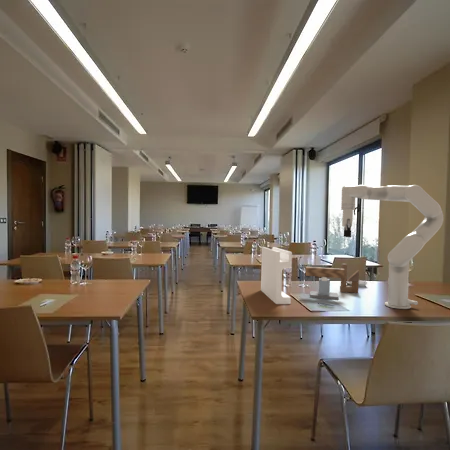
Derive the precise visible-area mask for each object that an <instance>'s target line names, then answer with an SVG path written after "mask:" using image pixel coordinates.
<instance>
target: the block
mask: <svg viewBox="0 0 450 450" xmlns="http://www.w3.org/2000/svg"><path fill="white" fill-rule="evenodd" d="M292 264H293V252H292V251H290V250H286V249H283V248H279V247H276V246H272V247H271V248H269V247H265V246H261V269H260V270H261V272H260V273H261V274H260V276H261V277H260V291H261V292H262V293H263V294H264V295H266V296H267V298H268V299H270V300H271V301H272V302H273V303H274V304H276V305H291V301H292V300H291V299H292V297H291V296H290V295H288V294H286V293H285V292H284V291H282V289H283V288H282V287H283V270H285V269H293V267H292Z"/></svg>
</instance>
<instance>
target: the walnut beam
mask: <svg viewBox="0 0 450 450" xmlns="http://www.w3.org/2000/svg"><path fill="white" fill-rule="evenodd" d="M305 276H306V277H319V278H320V277H321V278H322V277H327V278H335V279H341V278H344V269H341V268H338V267H337V268H336V267H335V268H334V267H319V266H305Z"/></svg>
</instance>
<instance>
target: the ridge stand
mask: <svg viewBox="0 0 450 450" xmlns="http://www.w3.org/2000/svg"><path fill="white" fill-rule="evenodd" d="M330 280H331V279H330V278H328V277H321V278H320V277H319V278H318V291H314V290H310V292H309V298H311V299H312V298H314V299H325V300H335V301H336V300H340V299H339V294H338V292H332V291H331V292H330V290H331V289H330V288H331V287H330V286H331V283H330V282H331V281H330Z"/></svg>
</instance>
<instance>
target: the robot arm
mask: <svg viewBox="0 0 450 450" xmlns="http://www.w3.org/2000/svg"><path fill="white" fill-rule="evenodd" d="M356 199H362V200H371V201H373V200H374V201H385V202H405V203H410V204H411V205H412V206H414V208H416V209H417V211H419V213H421V214H422V215H423V217H424V218H423V220H422V221H421V222H420V224H418V226H417V227H416V228H415V229H414V230H412V231H411V232H410V233H409V234H407V235H405V236H404V237H403V238H402V239H401V240H400V241H399V242H398V243H397V244H396V245H395V246H394V247H393V248H392V249H391V250H390V251H389V252H388V254H387V261H388V263H389V265H388V285H387V286H388V287H387V288H388V291H387V301H385V302H384V306H386V307H388V308H393V309H397V310H409V309H411V308H412V305H414V306H416V305H419V302H418V301H417V300H411V299H409V298H408V297H409V275H410V274H409V273H410V272H409V271H410V262H411V260H412V259H413V258H414V257H416V255H418V253H419V252H420V251H422V249H423V248H424V246H425V245H426V243H428V242H429V241H430V240H431V239H432V238H433V237H434V236H435V234H437V232H438V231H439V230H440V229H441V227H442V226H443V223H444V213H443V209H442V208H441V207H442V206H441V205H440V204H439V203H438V201H436V200H435V199H434V198H433V197H432V196H431V195H429V194H428V192H426V191H425V189H424V188H422V186H420V185H417V184H412V185H395V184H394V185H393V184H391V185H386V186H368V185H365V184H359V185H358V184H357V185H344V186H342V188H341V204H340V205H341V209H340V210H341V211H342V218H341V219H342V222H341V223H342V224H341V226H342V227H343V237H344V238H352V227H353V219H354V216H353V215H354V211H355V210H356Z"/></svg>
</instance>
